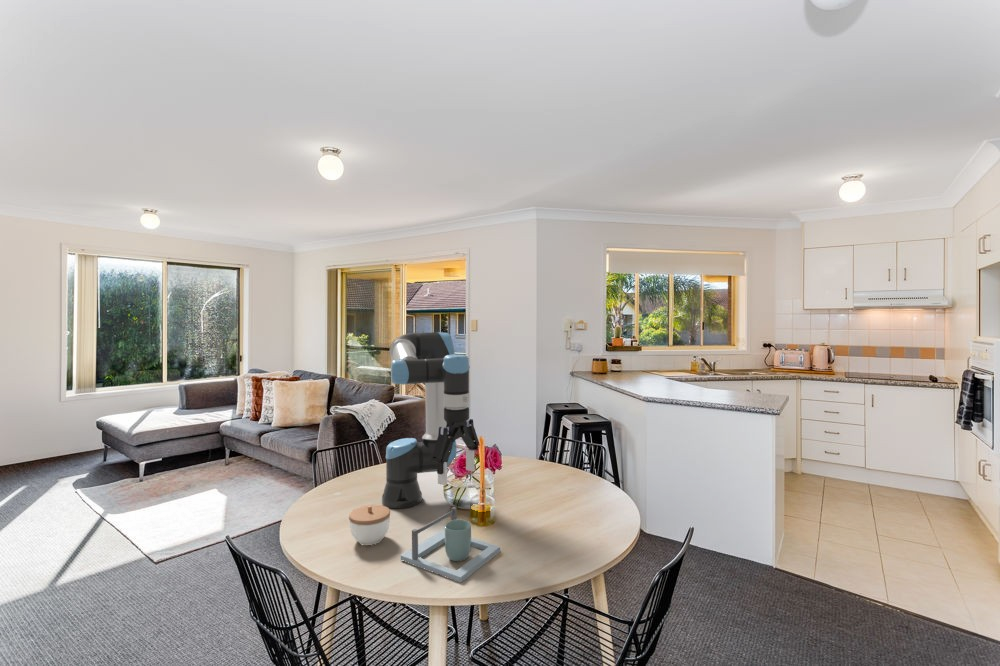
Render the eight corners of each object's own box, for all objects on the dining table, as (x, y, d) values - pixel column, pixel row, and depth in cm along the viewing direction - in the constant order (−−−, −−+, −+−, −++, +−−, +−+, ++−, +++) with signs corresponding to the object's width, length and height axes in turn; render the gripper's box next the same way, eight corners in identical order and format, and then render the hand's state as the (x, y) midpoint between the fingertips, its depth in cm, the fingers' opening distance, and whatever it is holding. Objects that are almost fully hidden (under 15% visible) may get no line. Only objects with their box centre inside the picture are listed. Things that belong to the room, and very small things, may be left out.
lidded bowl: (369, 554, 146) (368, 518, 145) (341, 543, 152) (340, 509, 152) (398, 537, 156) (398, 503, 156) (371, 528, 163) (370, 496, 162)
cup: (467, 566, 139) (467, 531, 138) (441, 563, 140) (441, 529, 140) (474, 552, 146) (474, 520, 146) (449, 550, 148) (449, 518, 147)
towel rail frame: (400, 560, 142) (400, 526, 141) (443, 533, 159) (443, 503, 158) (460, 582, 130) (460, 546, 130) (500, 551, 147) (500, 519, 146)
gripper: (439, 416, 131) (439, 493, 132) (490, 401, 152) (490, 467, 153) (418, 413, 135) (419, 487, 136) (471, 398, 156) (471, 463, 157)
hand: (456, 477), depth 145 cm, fingers open, 13 cm apart
